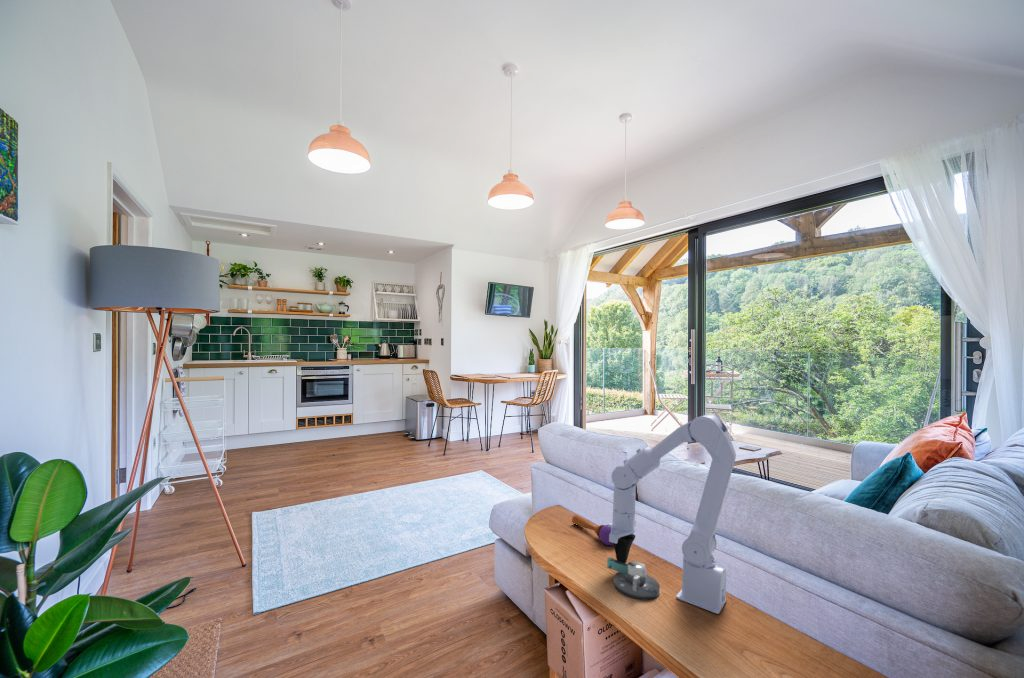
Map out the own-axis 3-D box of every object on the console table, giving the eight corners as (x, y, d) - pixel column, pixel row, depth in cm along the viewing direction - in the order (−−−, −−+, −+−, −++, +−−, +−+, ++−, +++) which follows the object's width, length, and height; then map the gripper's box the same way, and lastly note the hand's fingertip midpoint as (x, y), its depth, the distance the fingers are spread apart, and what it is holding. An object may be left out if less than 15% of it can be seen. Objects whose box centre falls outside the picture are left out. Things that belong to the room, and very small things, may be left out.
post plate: (665, 587, 107) (666, 569, 107) (649, 605, 98) (650, 585, 99) (624, 572, 114) (625, 555, 114) (605, 587, 105) (606, 569, 106)
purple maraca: (583, 511, 149) (624, 528, 131) (581, 529, 147) (621, 548, 130) (570, 510, 146) (609, 527, 129) (567, 528, 145) (607, 548, 127)
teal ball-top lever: (648, 580, 107) (648, 565, 107) (641, 586, 103) (642, 571, 103) (611, 566, 113) (611, 552, 113) (603, 572, 110) (604, 557, 110)
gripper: (619, 500, 123) (617, 548, 122) (599, 513, 111) (596, 567, 110) (643, 506, 118) (641, 556, 118) (625, 520, 107) (622, 576, 106)
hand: (621, 562), depth 114 cm, fingers closed
